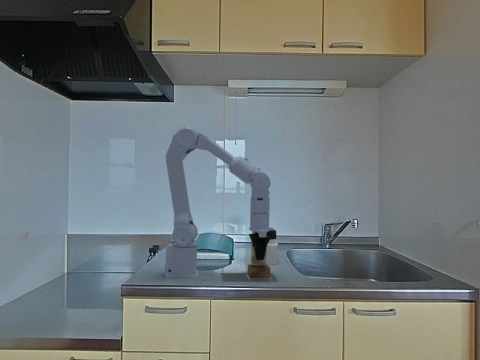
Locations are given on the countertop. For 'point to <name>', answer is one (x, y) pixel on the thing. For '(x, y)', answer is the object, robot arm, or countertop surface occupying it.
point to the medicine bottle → (272, 249)
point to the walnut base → (258, 271)
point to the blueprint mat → (245, 278)
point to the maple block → (253, 258)
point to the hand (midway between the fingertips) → (258, 258)
